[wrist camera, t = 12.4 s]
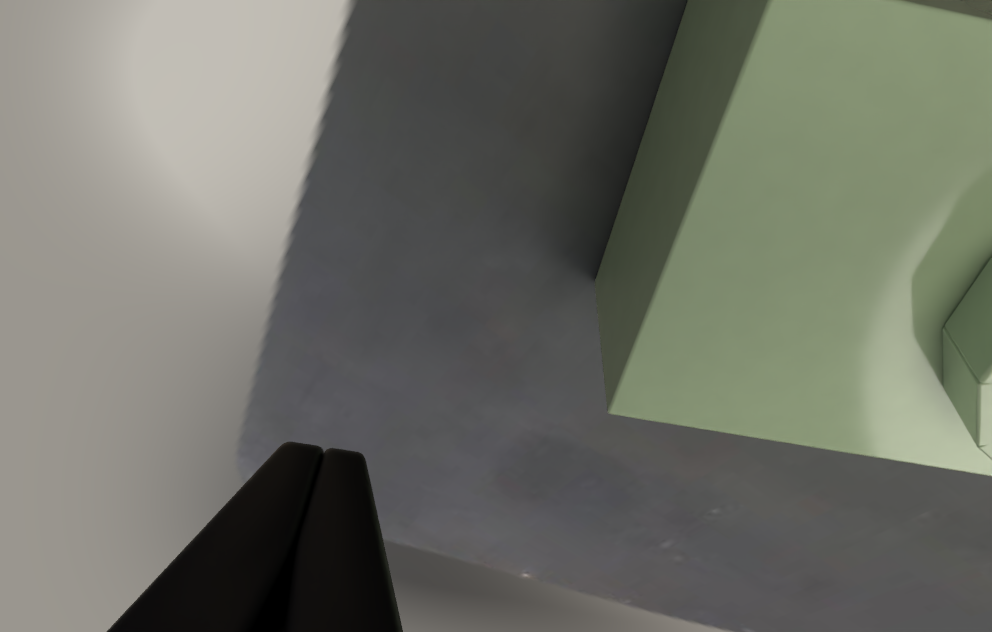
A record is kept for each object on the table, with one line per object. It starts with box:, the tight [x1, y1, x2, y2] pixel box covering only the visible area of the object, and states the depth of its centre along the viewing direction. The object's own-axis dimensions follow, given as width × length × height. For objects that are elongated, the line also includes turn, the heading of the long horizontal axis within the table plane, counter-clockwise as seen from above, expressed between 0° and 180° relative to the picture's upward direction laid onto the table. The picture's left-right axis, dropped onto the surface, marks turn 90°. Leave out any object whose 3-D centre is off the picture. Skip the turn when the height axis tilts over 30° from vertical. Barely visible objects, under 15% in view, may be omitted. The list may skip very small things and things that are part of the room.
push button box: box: [595, 0, 992, 476], centre depth 18 cm, size 13×10×7 cm
